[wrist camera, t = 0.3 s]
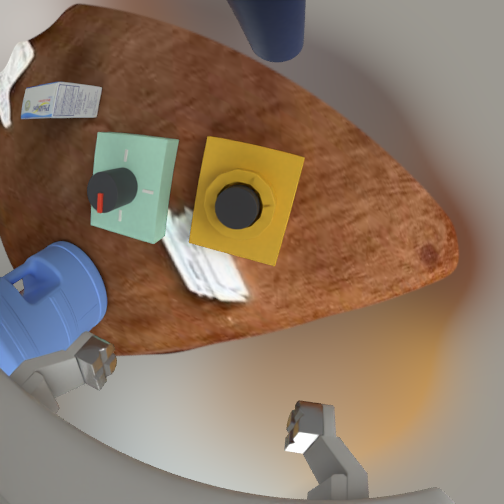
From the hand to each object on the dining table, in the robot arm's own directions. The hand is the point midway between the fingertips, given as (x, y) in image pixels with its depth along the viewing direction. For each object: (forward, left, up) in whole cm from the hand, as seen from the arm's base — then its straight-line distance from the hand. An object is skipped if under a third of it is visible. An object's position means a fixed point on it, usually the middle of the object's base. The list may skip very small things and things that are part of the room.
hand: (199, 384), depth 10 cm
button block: (-3, -3, -22) cm, 23 cm away
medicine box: (-12, -29, -22) cm, 38 cm away
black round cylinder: (-2, -17, -19) cm, 26 cm away
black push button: (-3, -3, -19) cm, 19 cm away
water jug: (+17, -29, -22) cm, 40 cm away
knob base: (-2, -17, -22) cm, 28 cm away
